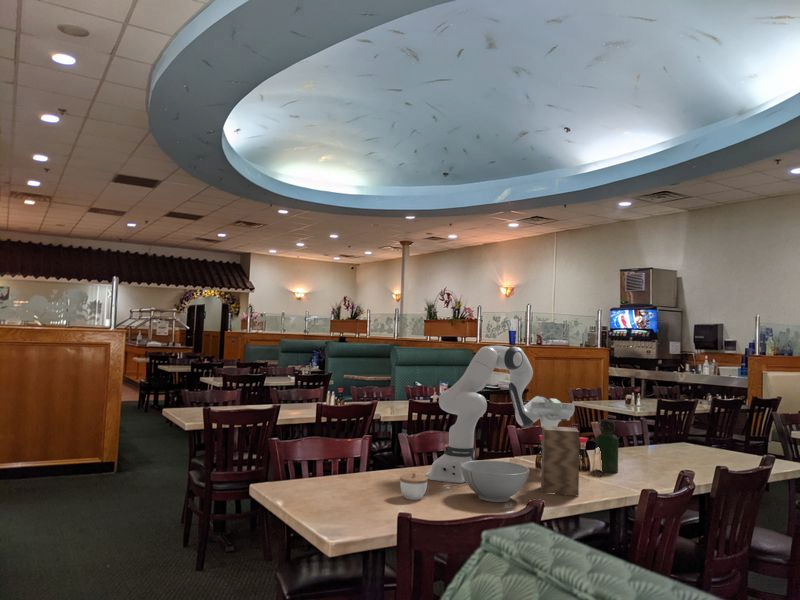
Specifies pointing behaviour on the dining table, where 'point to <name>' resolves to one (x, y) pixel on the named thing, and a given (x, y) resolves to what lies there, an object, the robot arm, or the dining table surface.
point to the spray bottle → (608, 446)
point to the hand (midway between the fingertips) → (553, 401)
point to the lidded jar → (413, 486)
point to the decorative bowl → (494, 479)
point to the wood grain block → (560, 460)
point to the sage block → (555, 405)
